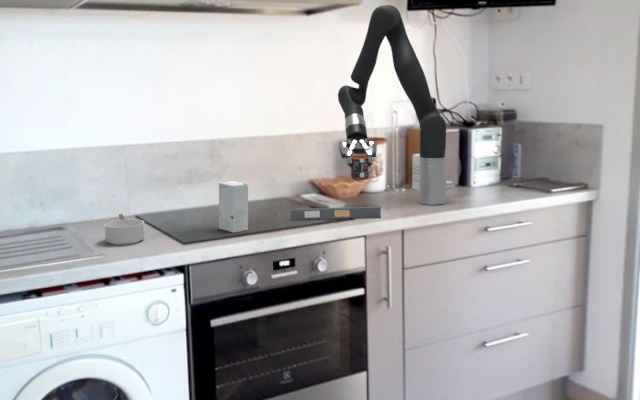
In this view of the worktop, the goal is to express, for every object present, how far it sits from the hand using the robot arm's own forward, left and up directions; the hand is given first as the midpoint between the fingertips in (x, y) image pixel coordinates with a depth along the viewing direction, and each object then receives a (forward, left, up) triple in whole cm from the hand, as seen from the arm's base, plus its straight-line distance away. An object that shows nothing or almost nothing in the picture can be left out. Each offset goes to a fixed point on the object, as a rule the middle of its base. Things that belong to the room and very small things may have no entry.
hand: (360, 165), depth 225 cm
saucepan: (+75, +33, -16) cm, 84 cm away
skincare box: (+43, +25, -16) cm, 52 cm away
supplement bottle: (0, -2, -5) cm, 6 cm away
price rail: (+10, +13, -16) cm, 23 cm away
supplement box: (-33, -40, -16) cm, 54 cm away
